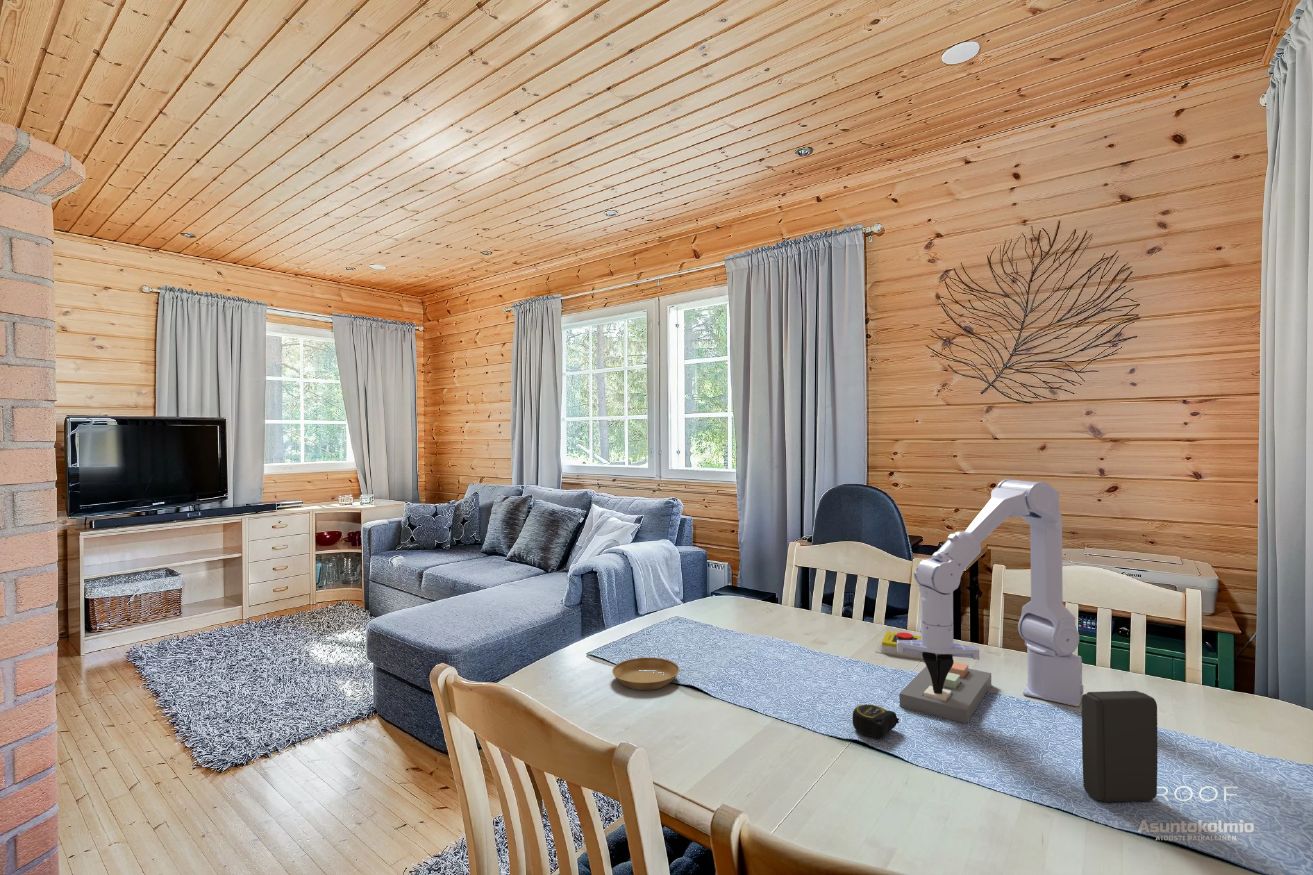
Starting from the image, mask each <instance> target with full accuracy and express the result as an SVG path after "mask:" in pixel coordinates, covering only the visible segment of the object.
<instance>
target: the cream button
mask: <svg viewBox="0 0 1313 875" xmlns="http://www.w3.org/2000/svg"><path fill="white" fill-rule="evenodd" d="M924 696H926V697H930V698H934V699H939V700H943V701H948V700H949V699H950V697H951V691H950V690H946V689H943V690H942V694H937V693H934V691H933V686H929V687H928V688H927V689H926V690H925V692H924Z"/></svg>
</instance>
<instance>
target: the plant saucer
mask: <svg viewBox="0 0 1313 875" xmlns="http://www.w3.org/2000/svg"><path fill="white" fill-rule="evenodd" d="M639 670H657V671H639ZM611 672H612V674H613V676H614V678H616V680H618V682H619V683H620V684H621V685H622V686H624V687H627V688H629V689H632V690H636V691H637V690H638V691H651V690H658V689H661V688H664V687H666V686H668V685H669V684H670V683H671V682H673V680H675V678H676V677H677V676H678V674H679V673H680V667H679V665H678V664H677V663H675V662H674V661H672V660H669V659H665V658H660V657H637V658H635V657H634V658H630V659H627V660H623V661H621V662H618V663H617V664H616V665H614V666H613V668H612V670H611ZM653 672H654V673H653ZM658 672H662V673H658ZM663 672H664V673H663ZM663 674H664V675H663Z"/></svg>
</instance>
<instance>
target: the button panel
mask: <svg viewBox="0 0 1313 875" xmlns="http://www.w3.org/2000/svg"><path fill="white" fill-rule="evenodd" d="M929 686H933V685H932V680H931V676H930V673H929V671H928V668H927V666H926V665H925V667H923V669H921V671H920V672H919V673H917V675H916V676H915V677H914V678H913V679H912V680H910V682H908V684H907V685H906V686H905V687H904V688H903V689H902V690H901V691H900V692H899V695H898V696H899V707H902V708H905V709H909V710H912V711H916V712H921V713H924V714H929V715H931V716H932V715H933V716H935V717H936V716H937V717H941V718H943V719H948V720H951V721H956V722H959V723H963V724H968V722H969V721H970V719H971V717H972V716H973V714H974V713H975V712H976V710H977V708H978V706H979V705H980V703H981V702H982V700H984V697H985V696H986V695H987V693H988V691H989V690H990V688H991V687H992V673H991V672H988V671H987V672H986V671H982V670H977V669H972V668H969V667H968V675H967V677H966V678H961V677H960V686H959V687H958V688H957V689H952V688H948V687H943V689H946V690H950V691H951V697H950V699H949V700H948V701H943V700H939V699H934V698H930V697H926V696H924V692H925V690H926V689H927V688H928V687H929Z"/></svg>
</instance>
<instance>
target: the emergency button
mask: <svg viewBox="0 0 1313 875" xmlns="http://www.w3.org/2000/svg"><path fill="white" fill-rule="evenodd" d="M897 640H921V635H915V634H912V633H909V632H891V631H887V632H885V634H884V636H883V639H882V640H880V641H879V642H878V643H877V644H878V645H877V646H876V648H875V650H874V652H875V653H877V654H882V655H890V656H895V657H902V658H903V657H904V658H909V659H917V660H923V661H924V659H923V656H922V654H921V653H910V652H903V653H898V652H897ZM936 657H937V655H936Z"/></svg>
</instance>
